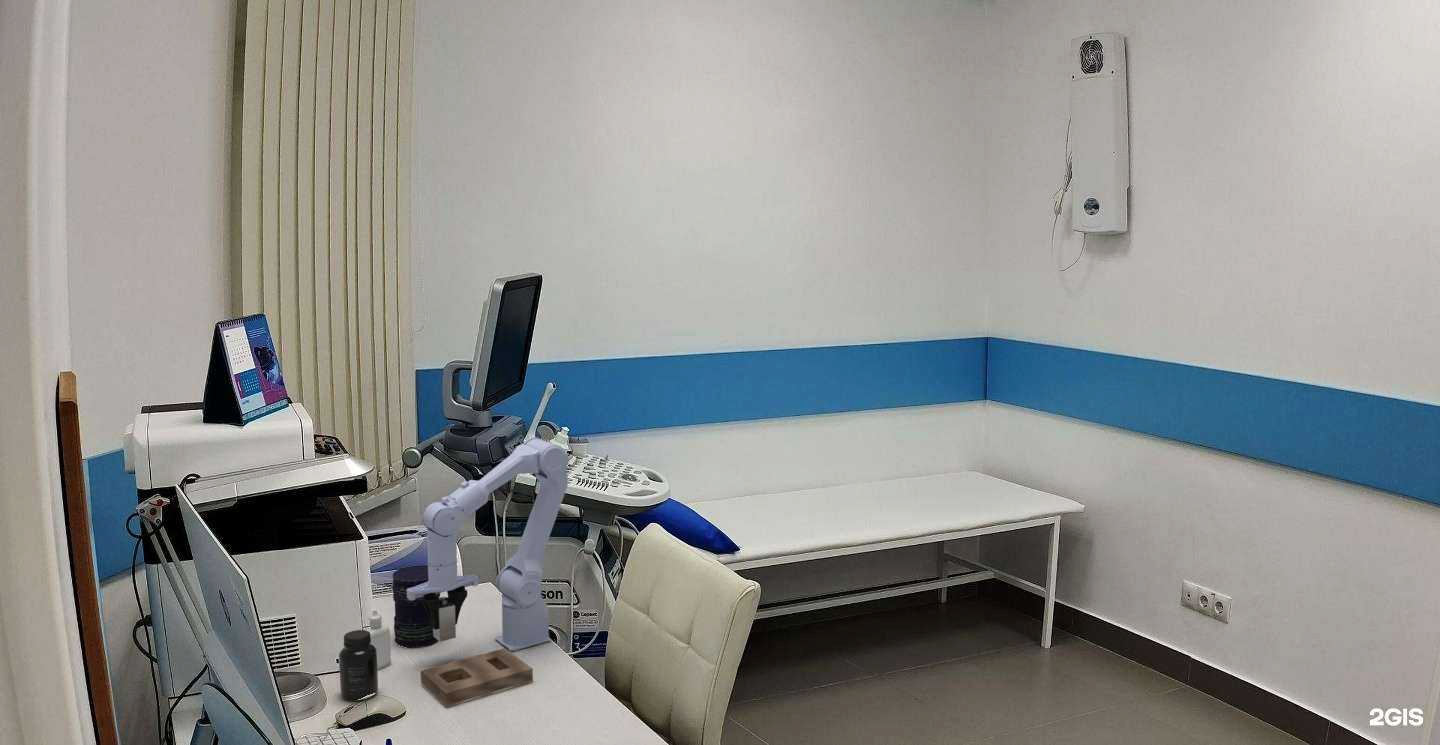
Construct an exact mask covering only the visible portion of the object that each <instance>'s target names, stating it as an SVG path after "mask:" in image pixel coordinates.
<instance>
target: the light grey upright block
mask: <svg viewBox="0 0 1440 745" xmlns="http://www.w3.org/2000/svg"><path fill="white" fill-rule="evenodd" d="M438 600H440V604H439V612H438V618H439V627H438V629H436V630H435V629H433V636H434V637H435V638H436V639H437V640H439V642H444V641H449V640H452V639H456V638H457V632H456V631H457V630H456V629H457V628H456V627H457V626H456V625H455V605H454V604H453V603H451V602H450V601H449V598H448V596H442V597H441V596H440V597H439V599H438Z"/></svg>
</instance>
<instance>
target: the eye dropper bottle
mask: <svg viewBox="0 0 1440 745" xmlns="http://www.w3.org/2000/svg"><path fill="white" fill-rule="evenodd" d="M370 616H371V617H370V618H369V617H368V621H369V620H370V628H371V629H370V630H369V632H370V637H371V643H370V644H372V645H373V646H374V647H375V648H376V651H377V671H378V670H381V669H383V668H385V667H387V666H389V664H391V662H392V659H391V655H392V654H391V634H390V632H391V631H390V627H388V626H386V625H383V624H382V623H383V622H382V615H381V614H378V610H377V609H376V608H375V609H373V610H372V614H371V615H370Z"/></svg>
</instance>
